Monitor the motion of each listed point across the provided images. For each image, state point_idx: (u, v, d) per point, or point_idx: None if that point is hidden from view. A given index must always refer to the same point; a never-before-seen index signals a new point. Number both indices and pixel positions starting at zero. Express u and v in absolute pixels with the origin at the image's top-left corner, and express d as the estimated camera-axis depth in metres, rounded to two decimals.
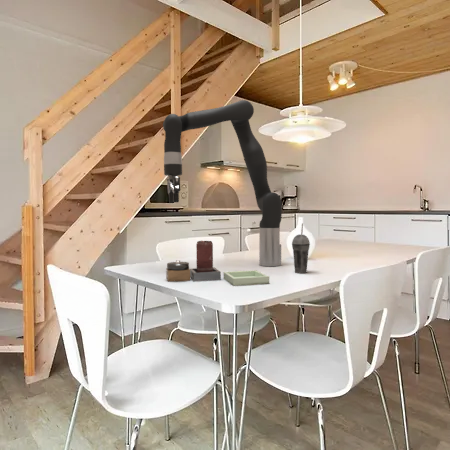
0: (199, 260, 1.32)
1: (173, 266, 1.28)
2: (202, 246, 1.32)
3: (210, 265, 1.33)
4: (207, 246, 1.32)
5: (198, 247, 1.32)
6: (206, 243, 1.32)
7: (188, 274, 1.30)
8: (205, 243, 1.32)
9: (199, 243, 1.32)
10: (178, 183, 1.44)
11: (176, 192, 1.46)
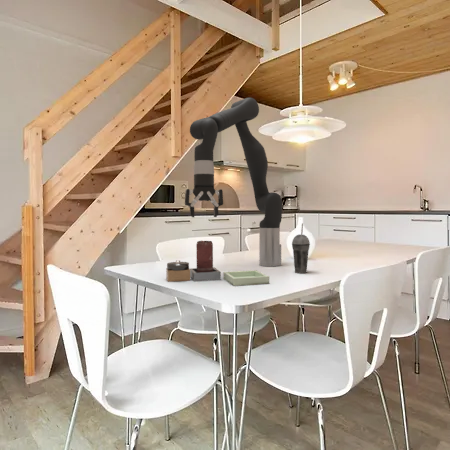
0: (199, 260, 1.32)
1: (173, 266, 1.28)
2: (202, 246, 1.32)
3: (210, 265, 1.33)
4: (207, 246, 1.32)
5: (198, 247, 1.32)
6: (206, 243, 1.32)
7: (188, 274, 1.30)
8: (205, 243, 1.32)
9: (199, 243, 1.32)
10: None
11: None
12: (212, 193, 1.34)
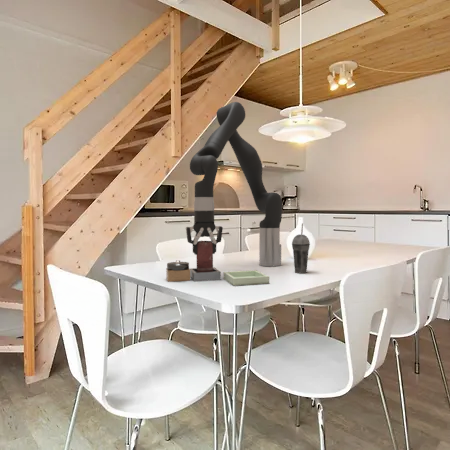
0: (199, 260, 1.32)
1: (173, 266, 1.28)
2: (202, 246, 1.32)
3: (210, 265, 1.33)
4: (207, 246, 1.32)
5: (198, 247, 1.32)
6: (206, 243, 1.32)
7: (188, 274, 1.30)
8: (205, 243, 1.32)
9: (199, 243, 1.32)
10: None
11: None
12: (212, 229, 1.34)
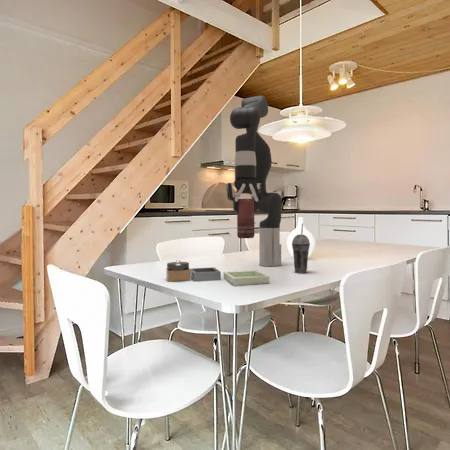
0: (241, 218, 1.25)
1: (173, 266, 1.28)
2: (244, 203, 1.25)
3: (252, 223, 1.26)
4: (249, 203, 1.25)
5: (239, 204, 1.26)
6: (248, 200, 1.25)
7: (188, 274, 1.30)
8: (247, 200, 1.25)
9: (241, 200, 1.25)
10: None
11: (257, 201, 1.29)
12: (254, 185, 1.27)
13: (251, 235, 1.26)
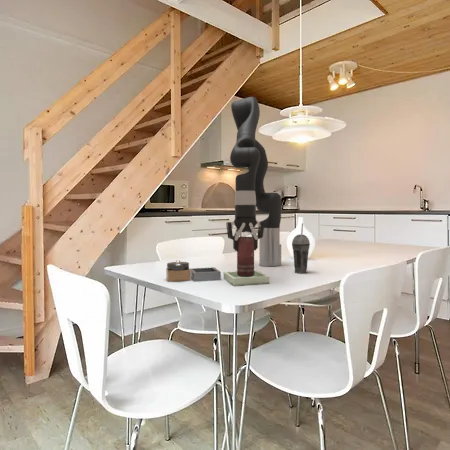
0: (240, 257, 1.26)
1: (173, 266, 1.28)
2: (244, 242, 1.25)
3: (252, 262, 1.27)
4: (249, 242, 1.25)
5: (239, 243, 1.26)
6: (248, 239, 1.26)
7: (188, 274, 1.30)
8: (247, 239, 1.25)
9: (240, 239, 1.26)
10: None
11: (257, 239, 1.30)
12: (254, 224, 1.28)
13: (251, 274, 1.26)
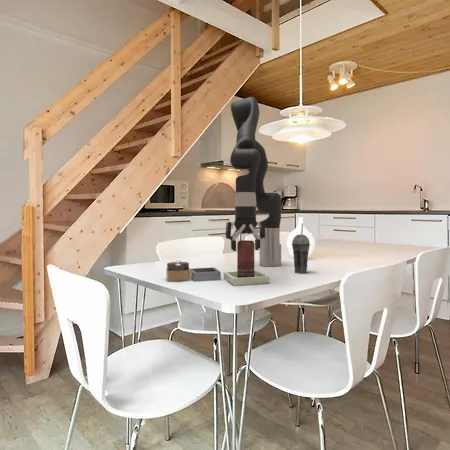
0: (241, 261, 1.26)
1: (173, 266, 1.28)
2: (244, 246, 1.26)
3: (252, 266, 1.27)
4: (249, 246, 1.26)
5: (240, 247, 1.26)
6: (248, 243, 1.26)
7: (188, 274, 1.30)
8: (247, 243, 1.26)
9: (241, 243, 1.26)
10: None
11: None
12: (254, 225, 1.28)
13: None
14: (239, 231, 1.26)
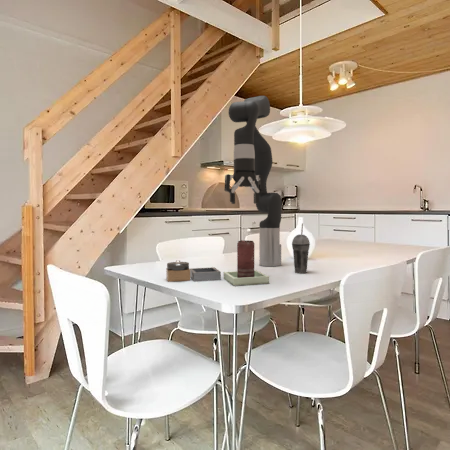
0: (241, 261, 1.26)
1: (173, 266, 1.28)
2: (244, 246, 1.25)
3: (252, 266, 1.27)
4: (249, 246, 1.26)
5: (240, 247, 1.26)
6: (248, 243, 1.26)
7: (188, 274, 1.30)
8: (247, 243, 1.26)
9: (241, 243, 1.26)
10: None
11: (258, 192, 1.30)
12: (253, 178, 1.28)
13: None
14: (238, 183, 1.26)
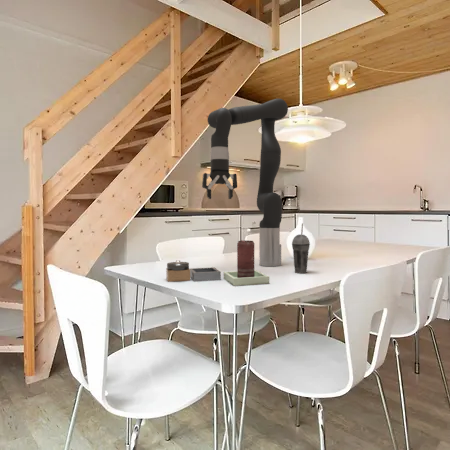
0: (241, 261, 1.26)
1: (173, 266, 1.28)
2: (244, 246, 1.25)
3: (252, 266, 1.27)
4: (249, 246, 1.26)
5: (240, 247, 1.26)
6: (248, 243, 1.26)
7: (188, 274, 1.30)
8: (247, 243, 1.26)
9: (241, 243, 1.26)
10: None
11: (232, 189, 1.48)
12: (227, 177, 1.46)
13: None
14: (214, 181, 1.44)
